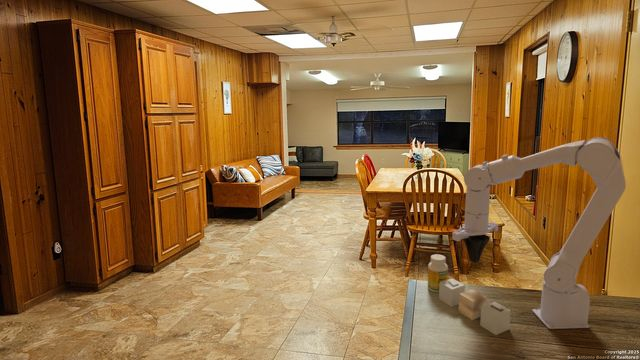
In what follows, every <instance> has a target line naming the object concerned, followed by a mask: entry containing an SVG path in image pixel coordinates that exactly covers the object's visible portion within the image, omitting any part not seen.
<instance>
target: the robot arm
mask: <svg viewBox="0 0 640 360" xmlns="http://www.w3.org/2000/svg"><path fill="white" fill-rule="evenodd" d="M585 141H586V142H585ZM561 163H562V164H565V165H568V166H572V167H576V165H577V164H578V165H579V166H580V168H581V169H583V171H585V172H586V173H587V174H588V175H589V176H590V177H591V178H592V181H593V182H594V184H595V186H596V188H595V191H594V192H593V194H592V195H591V198H590V199H589V201H588V203H587V205H586V206H585V208H584V210H583V211H582V214H581V215H580V216H579V218H578V220H577V222H576V224H575V226H574V227H573V229H572V231H571V232H570V234H569V236H568V238H567V239H566V241H565V243H564V244H563V246H562V247H561V249H560V250H559V252H557V253H555V254H553V255H552V256H551V258H550V259H549V263H548V265H547V267H546V269H545V271H543V272H544V273H543V280H542V288H541V289H542V290H541V299H540V308H532V313H533V314H534V315H535V316H536V317H537V318H538V319H539V320H540V321H541V322H542V323H543V324H544V325H545V326H546V328H547V329H550V330H556V329H557V330H558V329H559V330H560V329H561V330H563V329H588V328H590V325H589V324H588V321H589V313H590V305H591V298H590V297H591V296H590V293H589V291H588V290H587V288H586V287H585V286H584V285H582V284H580V283H579V284H578V283H577V282H576V280H577V277H578V276H577V275H578V273H579V271H580V267H581V265H582V262H583V261H584V259H585V257H586V255H587V253H588V252H589V250H590V248H591V247H592V245H593V244H594V242H595V240H596V238H597V237H598V235H599V233H600V232H601V230H602V229H603V227H604V226H605V223H606V222H607V221H608V219H609V217H610V216H611V214H612V212H613V211H614V209H615V208H616V206H617V204H618V202H619V201H620V199H621V197H622V196H623V195H624V192H625V190H626V188H627V187H626V186H627V184H626V183H627V181H626V177H625V172H624V167H623V164H622V157H621V153H620V152H619V150H618V149H617V147H616V145H615V144H614V143H613V142H612V141H611V140H610V139H608V138H606V137H602V136H601V137H600V136H597V137H593V138H589V139H587V140H585V139H583V140H578V141H574V142H568V143H564V144H562V145H558V146H555V147H552V148H549V149H546V150H543V151H540V152H537V153H534V154H531V155H527V156H525V157H519V156H516V155H513V154H512V155H509V153H508V154H504V155H502V156H501V158H499V159H495V160H493V161H488V160H487V161H483V162H482V164H476V165H475V166H473V167H471V168H470V169H468V170H467V171H466V172H465V174H464V177H463V182H464V185H465V186H466V192H465V205H464V206H465V209H464V223H462V225H461V227H460V228H459V229H457V230H455V231H452V232H451V233H452V237H451V239H452V240H454V241H456V242H461V240H462V241H463V243H464V245H465V247H466V251H467V255H468V259H469V261H470V262H473V263H479V262H480V260H481V257H482V253H483V251H484V249H485V247H486V246H487V244H488V243H489V242H490V241H491V237H490V236H489V235H487V234H489V233H490V232H498V231H499V223H498V222H493V221H492V222H489V215H490V204H491V203H490V201H491V200H490V198H491V194H490V192H491V185H493V186H495V185H500V184H502V183H506V182H511V181H514V180H515V181H516V180H518V179H519V180H520V179H521V178H523V175H524V174H525V172H527V171H532V170H535V169H536V170H537V169H540V168H544V167H549V166H552V165H555V164H561Z"/></svg>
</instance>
